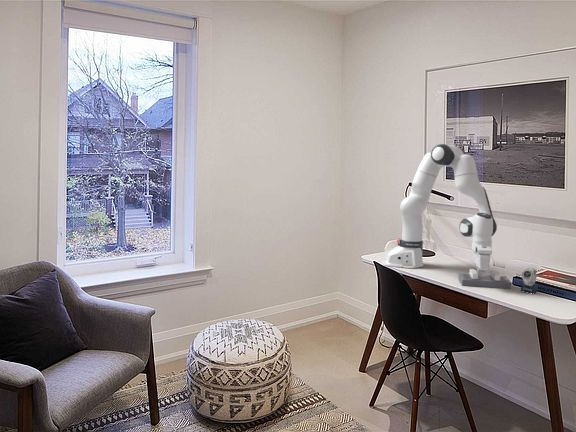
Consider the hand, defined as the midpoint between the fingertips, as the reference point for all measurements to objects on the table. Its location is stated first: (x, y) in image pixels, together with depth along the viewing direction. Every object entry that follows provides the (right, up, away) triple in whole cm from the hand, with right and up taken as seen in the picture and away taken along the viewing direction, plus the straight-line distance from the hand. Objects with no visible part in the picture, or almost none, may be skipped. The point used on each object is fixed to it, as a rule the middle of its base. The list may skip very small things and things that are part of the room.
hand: (479, 274), depth 238 cm
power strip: (+2, -4, 0) cm, 5 cm away
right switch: (+7, -1, -1) cm, 7 cm away
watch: (+18, -7, -12) cm, 23 cm away
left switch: (-3, -1, 0) cm, 3 cm away
